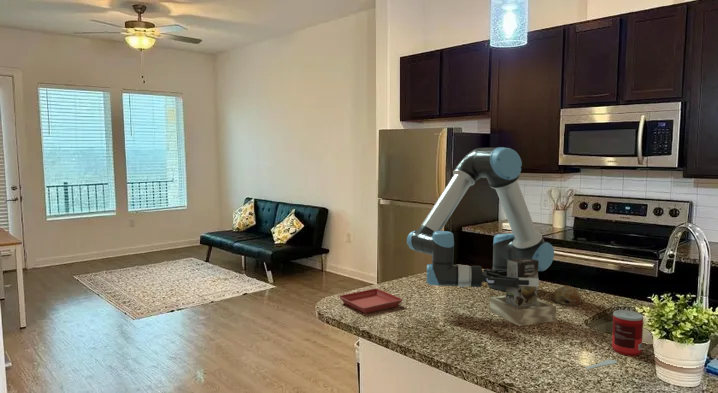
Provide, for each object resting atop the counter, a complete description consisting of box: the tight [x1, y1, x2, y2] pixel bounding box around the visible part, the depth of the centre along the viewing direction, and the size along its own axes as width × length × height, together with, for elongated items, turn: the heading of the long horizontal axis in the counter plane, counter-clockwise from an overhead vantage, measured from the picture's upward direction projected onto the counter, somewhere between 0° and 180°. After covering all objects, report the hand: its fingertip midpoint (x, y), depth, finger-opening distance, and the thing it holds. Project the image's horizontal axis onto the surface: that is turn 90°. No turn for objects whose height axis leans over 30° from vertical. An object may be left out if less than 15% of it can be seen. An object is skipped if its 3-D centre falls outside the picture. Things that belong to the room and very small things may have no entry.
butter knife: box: [584, 358, 618, 370], centre depth 131 cm, size 1×24×3 cm
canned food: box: [611, 309, 644, 357], centre depth 143 cm, size 8×8×11 cm
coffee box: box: [505, 258, 539, 309], centre depth 173 cm, size 9×6×16 cm
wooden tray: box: [489, 295, 557, 327], centre depth 174 cm, size 15×17×5 cm
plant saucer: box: [338, 288, 404, 314], centre depth 187 cm, size 18×18×3 cm
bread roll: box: [552, 285, 582, 306], centre depth 191 cm, size 10×10×8 cm
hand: (535, 278), depth 172 cm, fingers closed on coffee box, 10 cm apart
